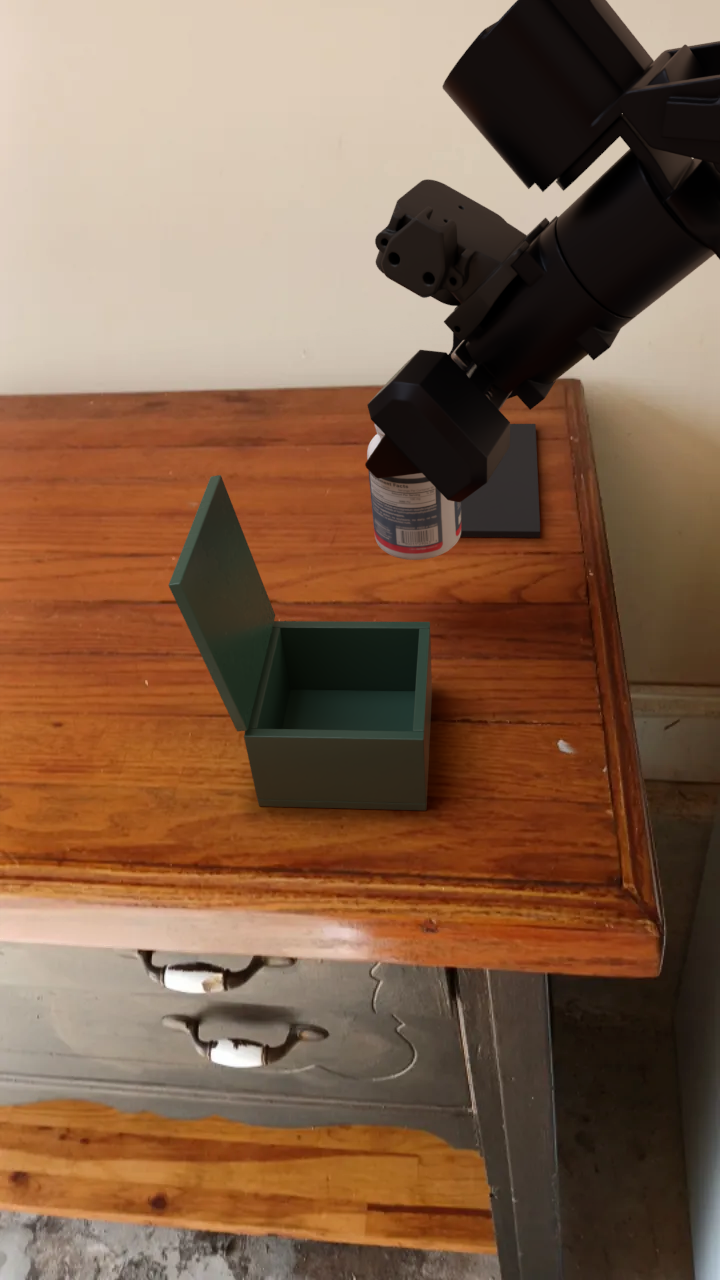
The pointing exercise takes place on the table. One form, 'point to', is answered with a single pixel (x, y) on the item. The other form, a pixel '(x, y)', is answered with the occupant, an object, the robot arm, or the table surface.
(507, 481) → the mat
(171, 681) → the table surface
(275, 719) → the green square box
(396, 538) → the pill bottle
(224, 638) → the lid
